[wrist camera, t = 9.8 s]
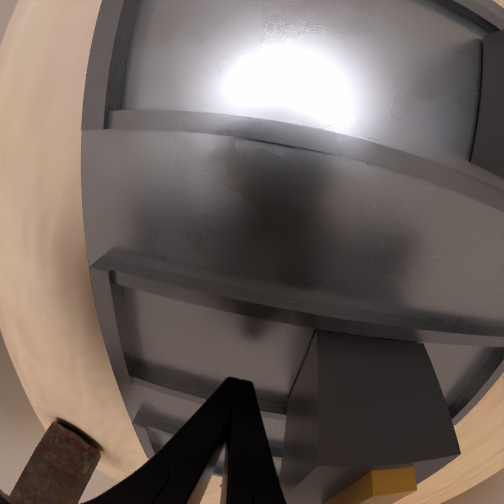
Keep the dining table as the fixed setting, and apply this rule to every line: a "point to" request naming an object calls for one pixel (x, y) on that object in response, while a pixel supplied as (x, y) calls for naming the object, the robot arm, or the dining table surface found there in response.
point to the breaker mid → (364, 422)
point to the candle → (57, 469)
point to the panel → (287, 196)
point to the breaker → (491, 108)
